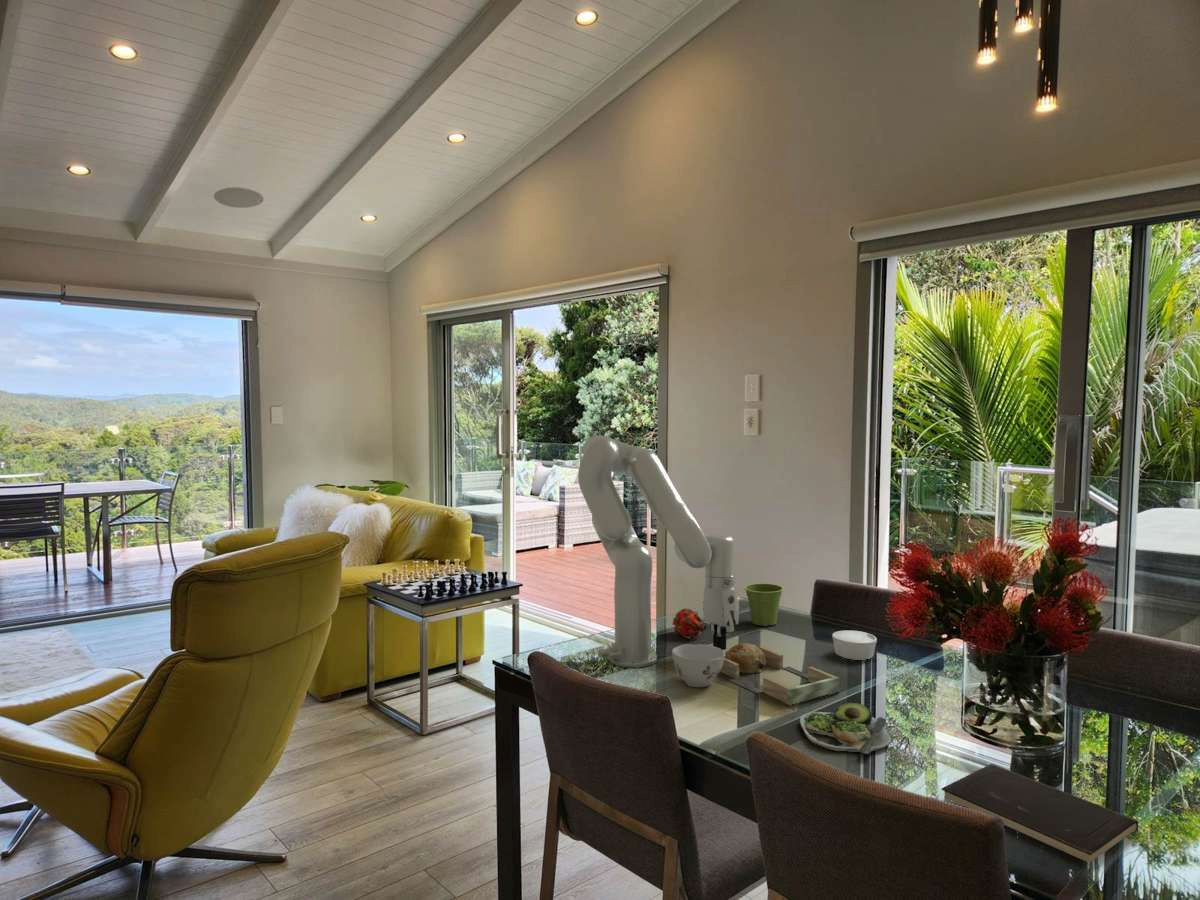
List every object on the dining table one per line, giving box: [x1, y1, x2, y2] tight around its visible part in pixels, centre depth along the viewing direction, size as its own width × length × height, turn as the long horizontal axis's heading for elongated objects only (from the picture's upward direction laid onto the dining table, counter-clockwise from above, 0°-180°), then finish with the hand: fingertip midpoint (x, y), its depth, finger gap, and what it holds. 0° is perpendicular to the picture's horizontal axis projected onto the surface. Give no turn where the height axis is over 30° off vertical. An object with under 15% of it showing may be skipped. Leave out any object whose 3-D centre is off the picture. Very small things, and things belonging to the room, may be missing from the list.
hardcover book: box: [941, 763, 1139, 864], centre depth 124 cm, size 16×23×2 cm
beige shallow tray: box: [719, 646, 841, 706], centre depth 184 cm, size 19×27×4 cm
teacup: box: [671, 643, 726, 688], centre depth 184 cm, size 15×12×8 cm
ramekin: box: [831, 629, 878, 661], centre depth 203 cm, size 11×11×5 cm
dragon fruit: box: [672, 608, 707, 640], centre depth 221 cm, size 8×8×12 cm
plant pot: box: [743, 582, 785, 627], centre depth 233 cm, size 12×12×11 cm
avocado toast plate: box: [799, 702, 892, 755], centre depth 152 cm, size 19×18×5 cm
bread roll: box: [724, 642, 767, 674], centre depth 194 cm, size 10×10×8 cm
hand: (719, 649), depth 203 cm, fingers closed
